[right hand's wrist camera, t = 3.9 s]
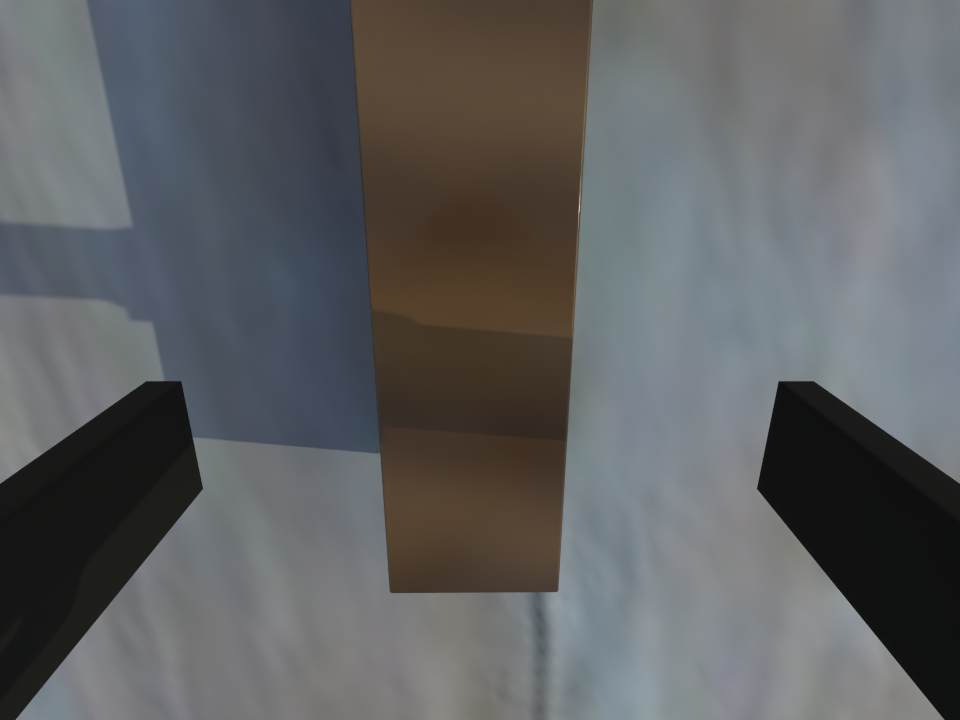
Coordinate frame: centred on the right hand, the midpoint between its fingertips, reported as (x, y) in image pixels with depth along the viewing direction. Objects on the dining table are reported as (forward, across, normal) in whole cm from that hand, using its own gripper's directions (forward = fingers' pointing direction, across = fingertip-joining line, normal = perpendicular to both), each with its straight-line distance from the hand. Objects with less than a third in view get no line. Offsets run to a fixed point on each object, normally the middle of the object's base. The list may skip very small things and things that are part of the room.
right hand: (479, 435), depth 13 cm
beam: (+10, 0, -27) cm, 29 cm away
